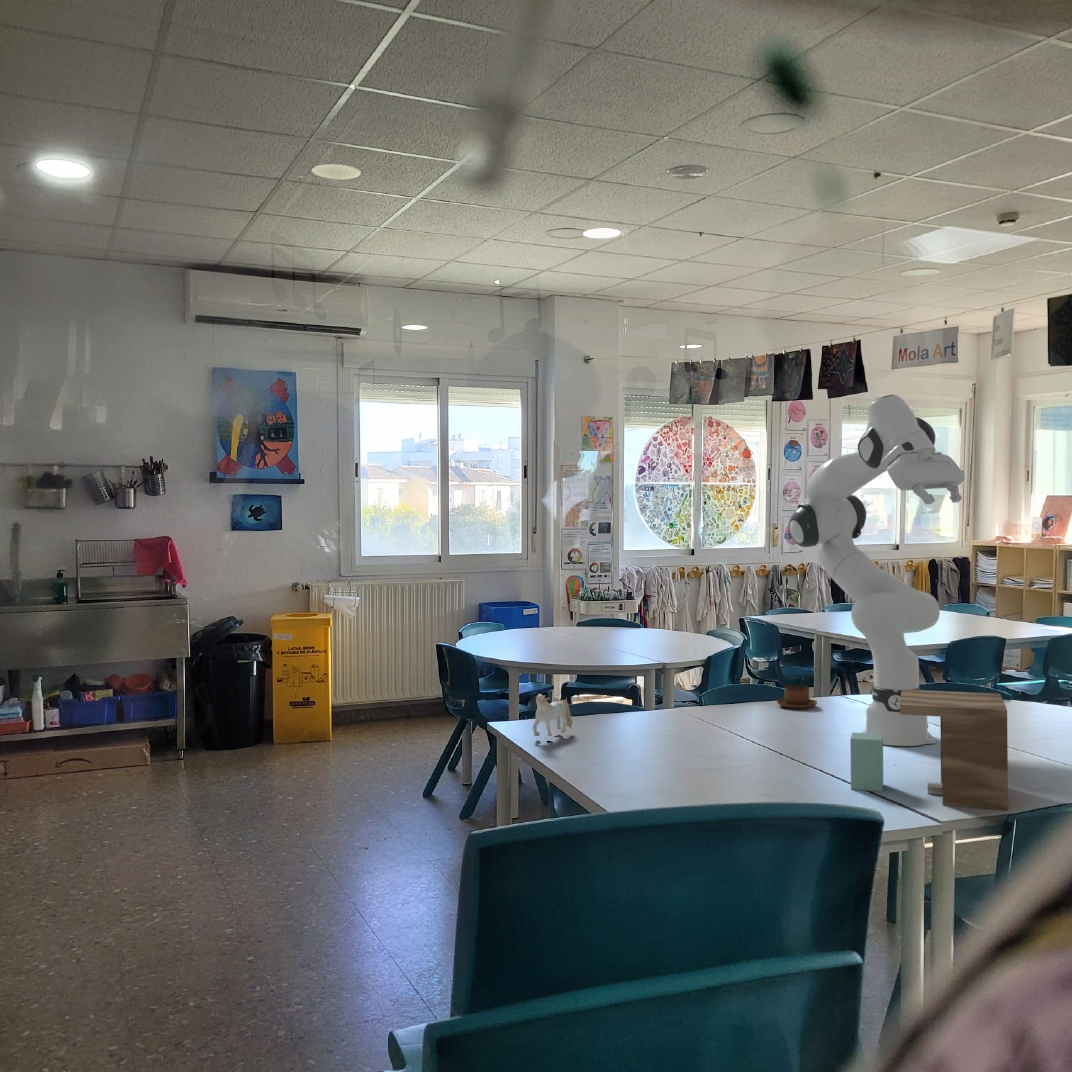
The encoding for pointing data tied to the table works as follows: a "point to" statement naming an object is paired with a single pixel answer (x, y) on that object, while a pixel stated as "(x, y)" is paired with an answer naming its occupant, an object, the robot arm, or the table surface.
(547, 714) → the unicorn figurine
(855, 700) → the table surface
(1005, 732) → the cubby
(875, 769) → the upright mint green block
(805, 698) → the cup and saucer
